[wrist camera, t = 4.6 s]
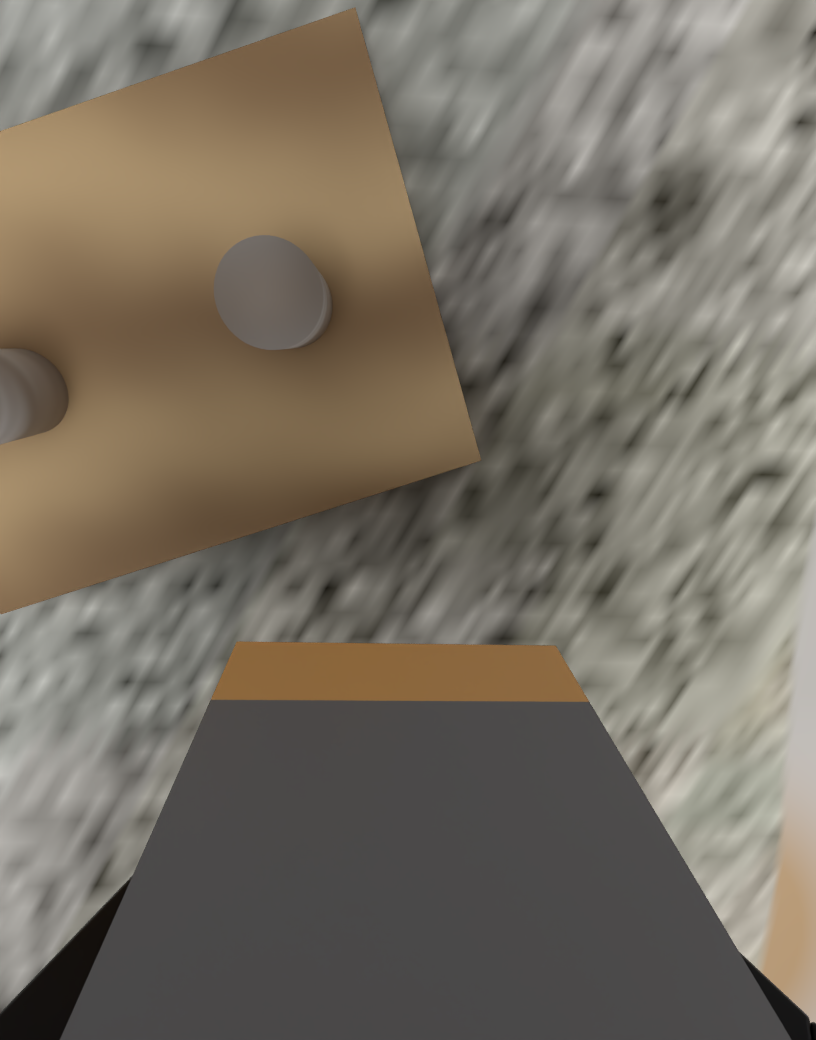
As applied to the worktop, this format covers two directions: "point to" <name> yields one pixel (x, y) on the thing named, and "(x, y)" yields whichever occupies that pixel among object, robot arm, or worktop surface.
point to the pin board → (211, 314)
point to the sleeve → (412, 867)
